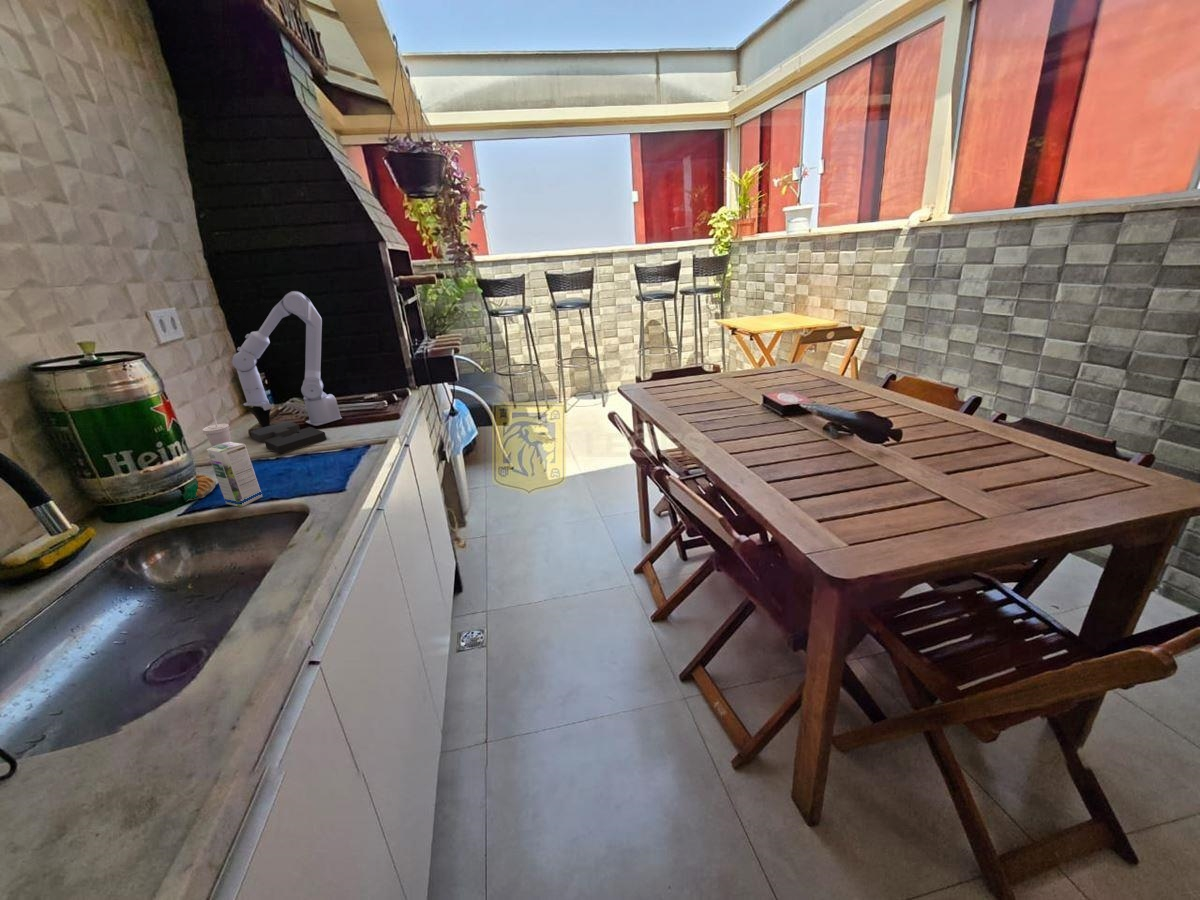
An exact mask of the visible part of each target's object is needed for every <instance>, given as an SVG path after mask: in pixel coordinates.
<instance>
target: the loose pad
mask: <svg viewBox="0 0 1200 900" xmlns="http://www.w3.org/2000/svg"><path fill="white" fill-rule="evenodd" d="M297 430H301V427H300V424H298V423H296V422H295V421H291V420H284V421H281V422H278V423H273V424H270V426H266V427H260V428H256V429H252V430H249V434H250V437H251V439H253V440H255V441H257V442H259V443H262V444H263V443H265V442H264V440H267V439H270V438H273V437H277V436H281V437H283V438H284V437H287V436H290V435H294V434H297V432H296V431H297Z"/></svg>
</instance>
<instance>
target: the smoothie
mask: <svg viewBox="0 0 1200 900" xmlns="http://www.w3.org/2000/svg"><path fill="white" fill-rule="evenodd" d="M210 414H211V417H212V419H213V422H214V424H211V425H209V426H206V427H204V428H202V434H204V435H205V436H206V438H207V440H208V441H209V443H210V446H211V447H213V446H216V445H219V444H222V443H226V442H232V437H231V432H230V429H231V426H230V425H229V423H218V421H217V418H216V416H215V414H214V412H211V413H210Z"/></svg>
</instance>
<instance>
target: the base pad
mask: <svg viewBox="0 0 1200 900" xmlns="http://www.w3.org/2000/svg"><path fill="white" fill-rule="evenodd" d="M296 432H297V433H293V434H291V435H290V436H287V437H284V438H283V437H281V436H277V437H273V438H270V439H267V440H264V442H263V443H264V445H265V447H266V449H269V450H270V451H273V452H274V453H277V454H278V455H282V454H285V453H288V452H292V451H295V450H298V449H301V448H304V447H308V446H311V445H314V444H316V443H320V442H323V441H326V440H327V436H326V432H325V431H323V430H320V429H317V428H315V427H312V426H308V427H305V428H300V430H297V431H296Z"/></svg>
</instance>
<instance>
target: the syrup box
mask: <svg viewBox="0 0 1200 900" xmlns="http://www.w3.org/2000/svg"><path fill="white" fill-rule="evenodd" d="M206 453H207V456H208V458H209V461H210V464H211V467H212V469H213V472H214V475H215V478H216V480H217V483H218V485H219V488H220V491H221V494H222V497H223V499H224V501H225V499H226V500H231V501H236V502H240V501H243V500H244V499H247V498H249V497H251V496H253V495H255V494H257V493H259V492H261V493H262V491H261V487H260V484H259V482H258V478H257V476H256V472H255V470H254V467H253V463H252V460H251V458H250V454H249V452H248V449H247V446H246V444H245V443H240V442H233V441H231V442H226V443H222V444H219V445H216V446H213V447H212V446H211V447H208V448H207V449H206ZM261 498H263V493H262V494H261V495H258V496H256V497H254V498H252V499H250V500H248V501H246V502H244V503H242V504H235V503H231V502H227V501H225V504H226V505H230V506H233V507H239V508H243V507H245V506H247V505H249V504H251V503H253V502H256V501H258V500H259V499H261Z"/></svg>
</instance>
